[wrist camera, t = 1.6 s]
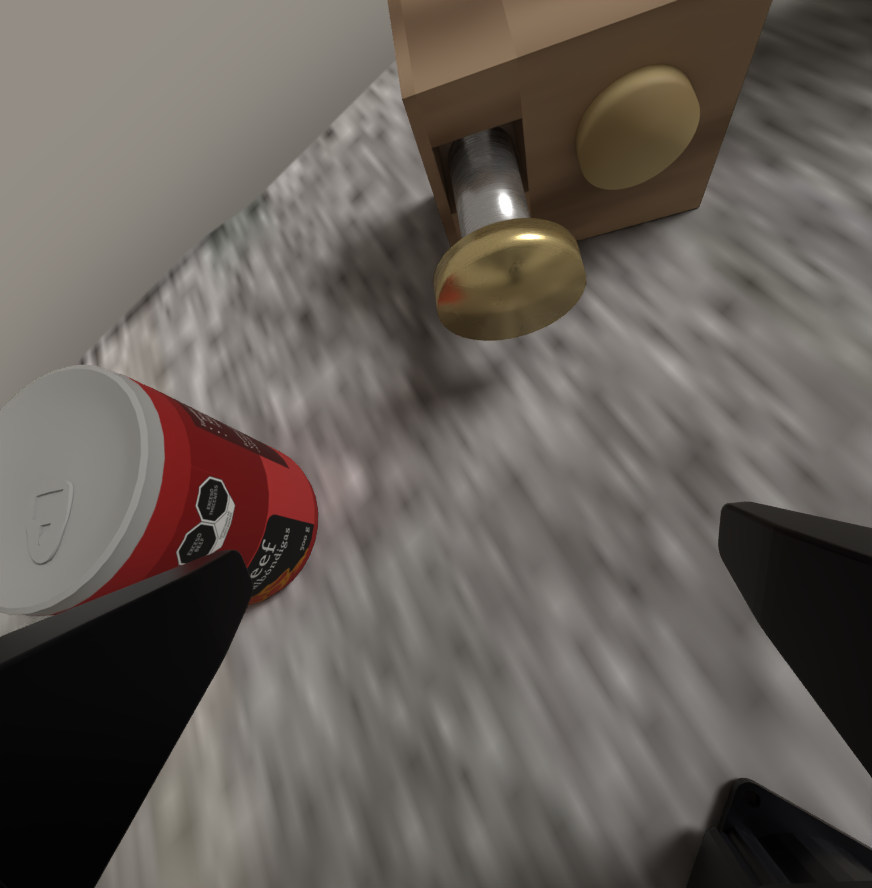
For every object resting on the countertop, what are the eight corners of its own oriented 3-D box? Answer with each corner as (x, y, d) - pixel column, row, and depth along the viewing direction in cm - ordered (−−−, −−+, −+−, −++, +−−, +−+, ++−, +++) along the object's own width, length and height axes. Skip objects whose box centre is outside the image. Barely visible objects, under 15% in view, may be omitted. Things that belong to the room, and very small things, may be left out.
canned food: (213, 631, 24) (-51, 663, 14) (180, 491, 27) (-58, 430, 16) (345, 564, 23) (172, 542, 13) (296, 427, 26) (123, 321, 16)
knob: (583, 321, 20) (590, 226, 15) (454, 352, 21) (419, 274, 16) (548, 186, 22) (543, 65, 17) (433, 221, 24) (397, 117, 18)
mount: (705, 223, 23) (798, -19, 14) (462, 288, 26) (404, 119, 17) (665, 120, 26) (722, -146, 16) (444, 189, 28) (386, -8, 19)
